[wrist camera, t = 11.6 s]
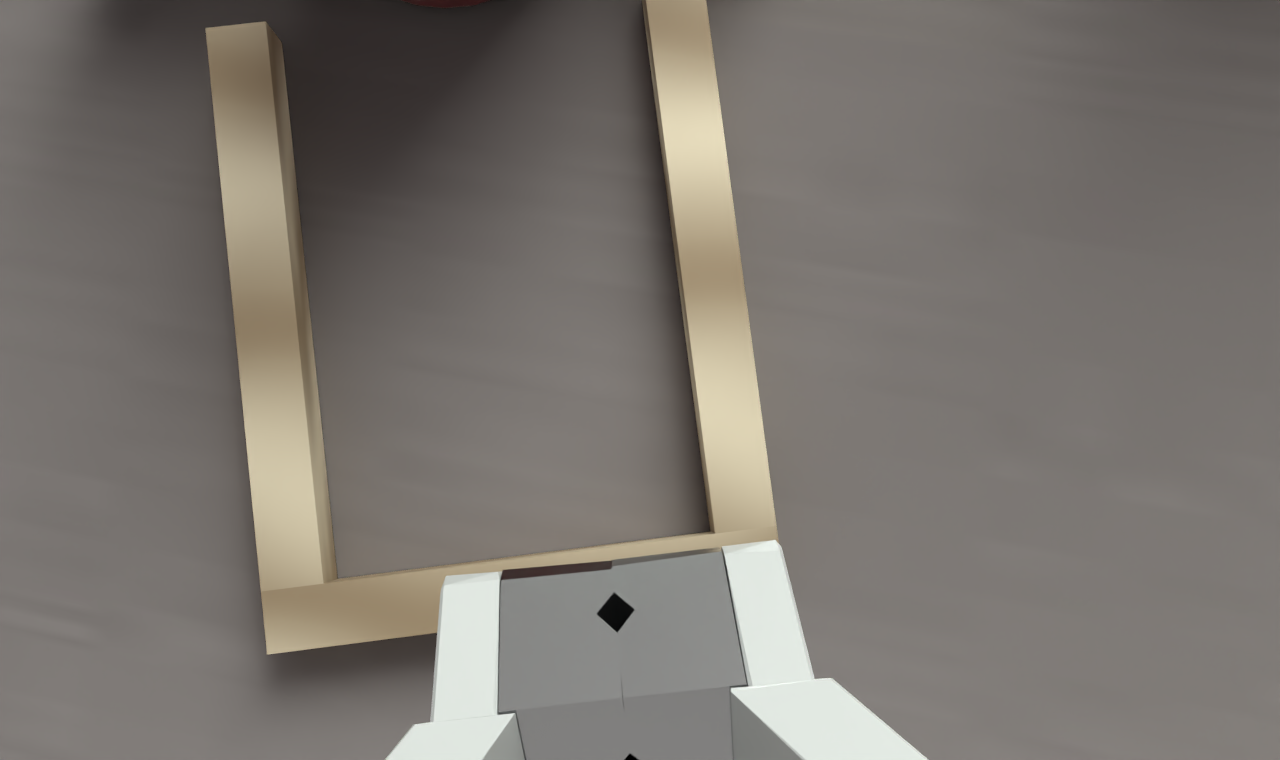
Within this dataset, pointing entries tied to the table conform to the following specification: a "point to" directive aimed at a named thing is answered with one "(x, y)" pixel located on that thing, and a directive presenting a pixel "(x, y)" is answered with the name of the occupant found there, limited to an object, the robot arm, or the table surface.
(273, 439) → the guide channel
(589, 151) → the table surface
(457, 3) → the soda can
